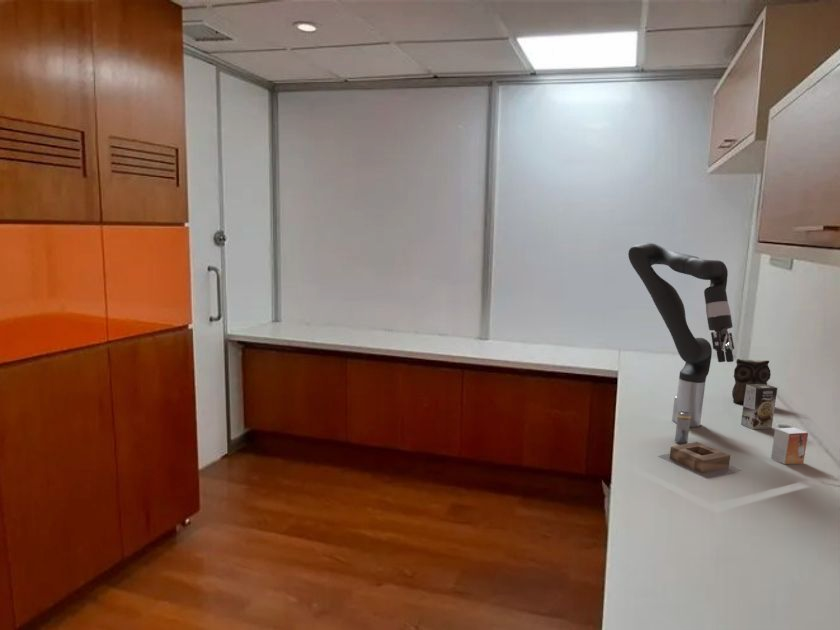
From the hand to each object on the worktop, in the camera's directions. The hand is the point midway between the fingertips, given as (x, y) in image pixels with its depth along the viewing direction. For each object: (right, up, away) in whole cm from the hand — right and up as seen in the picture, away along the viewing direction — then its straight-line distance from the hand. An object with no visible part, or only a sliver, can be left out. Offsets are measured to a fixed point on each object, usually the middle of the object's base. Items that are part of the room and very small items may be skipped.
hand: (726, 361), depth 209 cm
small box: (+14, -32, -11) cm, 37 cm away
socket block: (-19, -30, -21) cm, 41 cm away
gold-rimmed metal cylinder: (-17, -29, -3) cm, 34 cm away
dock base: (-19, -31, -20) cm, 42 cm away
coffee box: (+24, -27, +23) cm, 43 cm away
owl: (+38, -22, +56) cm, 72 cm away
